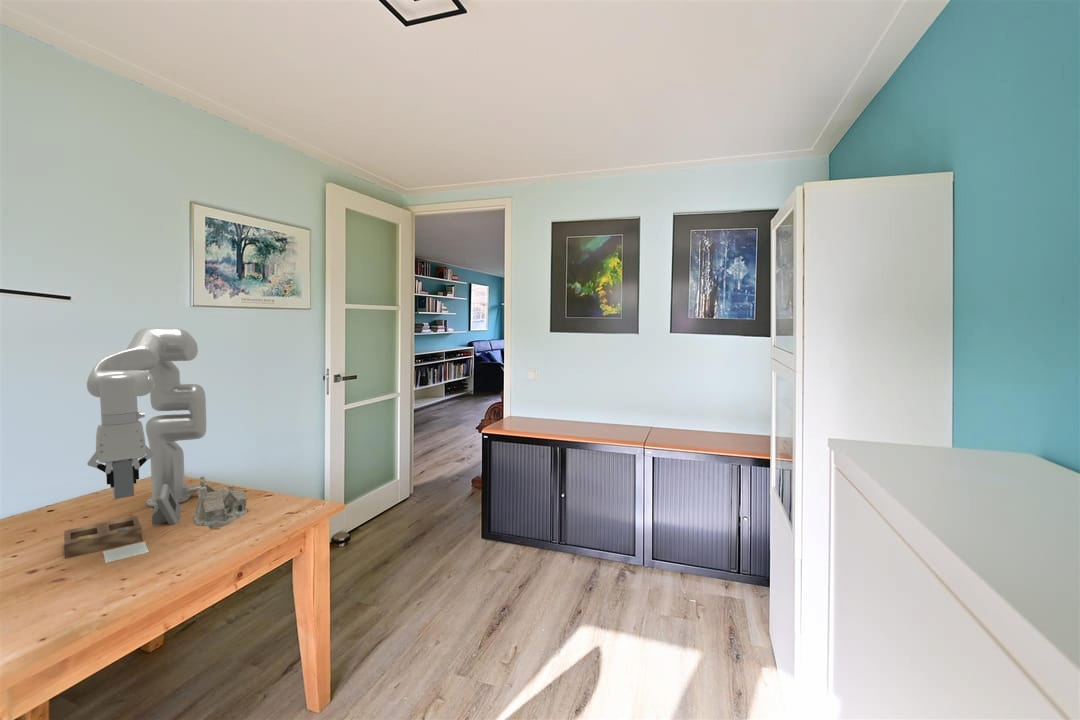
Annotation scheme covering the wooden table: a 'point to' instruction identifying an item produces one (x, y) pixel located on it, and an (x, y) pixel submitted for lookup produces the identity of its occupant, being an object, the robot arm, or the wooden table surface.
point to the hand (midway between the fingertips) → (123, 483)
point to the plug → (123, 479)
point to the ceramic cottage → (218, 505)
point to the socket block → (102, 536)
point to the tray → (125, 552)
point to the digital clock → (166, 507)
